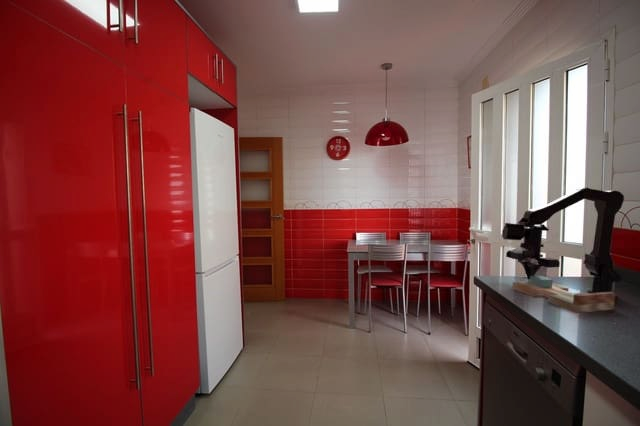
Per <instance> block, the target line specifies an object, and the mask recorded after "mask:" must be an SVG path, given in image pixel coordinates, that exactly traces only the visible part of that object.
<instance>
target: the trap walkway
mask: <svg viewBox="0 0 640 426" xmlns="http://www.w3.org/2000/svg"><path fill="white" fill-rule="evenodd" d="M511 288H512V290H515V291H517V292H521V293H523V294H525V293H526V295H529V296H530V297H534V298H538V297H539V298H540V297H546V298H547V299H548V300H547V302H548V303H549V304H552V305H555V306H557V307H561V308H563V309H566V310H569V311H570V312H571V311H572V312H573V313H579V314H581V313H590V312H591V313H592V312H598V311H609V310H610V311H611V310H614V307H615V299H616V297H615V294H616V293H615V292H614V293H613V292H600V293H590V292H586V293H585V292H571V291H569V287H567V286H564V285H560V284H557V283H552V287H546V288H541V287H538V286H535V285H532V284H530V280H529V281H514V282H512V287H511Z"/></svg>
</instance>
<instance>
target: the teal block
mask: <svg viewBox="0 0 640 426" xmlns="http://www.w3.org/2000/svg"><path fill="white" fill-rule="evenodd" d="M553 280H554V279H553V278H550V277H547V276H546V277H543V276H530V280H529V281H530V284H532V285H535V286H538V287H541V288H546V287H552V283H553V282H554V281H553Z"/></svg>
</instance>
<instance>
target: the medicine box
mask: <svg viewBox="0 0 640 426" xmlns="http://www.w3.org/2000/svg"><path fill="white" fill-rule="evenodd" d="M547 272H548V267H543V266H541V267H540V269H539V270H538V271H537V272H536V274H535V275H534V276H543V277H546V278H547V276H548V275H547Z"/></svg>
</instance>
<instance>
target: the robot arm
mask: <svg viewBox="0 0 640 426" xmlns="http://www.w3.org/2000/svg"><path fill="white" fill-rule="evenodd" d="M583 200H587V201H592V202H593V204H594V208H595V210H596V212H597V213H596V214H597V218H596V223H595V231H594V239H593V247H592V251H591V252H590V253H585V254H584V261H583V263H582V264H584V267H585V269H587V271H588V272H589V276H593V278H592V279H593V281H592V286H591V289H590V290H587V293H600V292H613V293H615V292H614V291H615V283H620V281H621V280H622V278H623V277H622V276H621V275H620V274H619V273H618V272H617V271H616V270H615V264H614V260H613V257H612V255H611V247H612V239H613V232H614V225H615V219H616V215H617V213H618V212H619V211H620V210H621V208H622V206H623V204H624V201H625V196H624V194H623V193H622V192H621V191H619V190H602V189H601V190H599V189H593V188H590V187H578V188H576V189H575V190H573V191H571V192H568V193H567V194H565V195H563V196H561V197H559V198H557V199H555V200H553V201H551V202H549V203H547V204H545V205H541V206H537V207H534V208H529V209H528V210H526V211H524V214H523V217H522V218H521V219H520V220H519V221H518V222H517V223H510V222H505V223H504V226H503V227H502V230H501V234H502V235H501V236H502V238H503V240H506V241H507V240H509V241H521V240H522V239H523V242H521V243H520V246H519V247H515V248H514V249H510V250H509V249H508V251H506V253H505V256H506V258H509V259H512V260H517V262H518V263H520V264H521V265H522V267H523V269H524V272H525V275H526V278H527V280H529V281H530V276H534V275H535V274H536V272H537V271H538V270H539V269H540V267H541V266H543V267H547V269H548V268H560V264H561V263H560V261H559V260H558V259H557V258H552V257H543V256H544V255H543V254H541V251H542V248H544V246H545V244H543V243H542V237H543V231H545V232H547V231H548V232H549V231H550V229H549V228H548V227H547V226H546V225H545V223H546V222H547V221H549V220H551V218H552V217H553V216H554V215H555V214H557V213H558V212H561V211H562V210H565V209H567V208H568V207H570V206H573V205H575V204H577V203H579V202H581V201H583ZM616 297H619V294H616V293H615V298H616Z"/></svg>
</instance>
